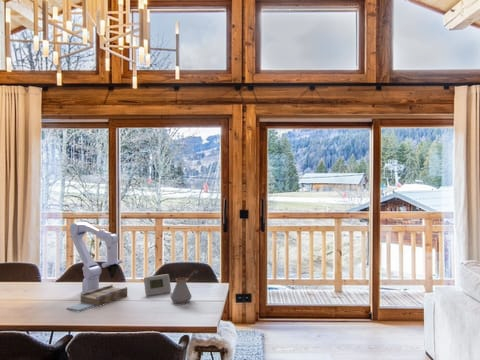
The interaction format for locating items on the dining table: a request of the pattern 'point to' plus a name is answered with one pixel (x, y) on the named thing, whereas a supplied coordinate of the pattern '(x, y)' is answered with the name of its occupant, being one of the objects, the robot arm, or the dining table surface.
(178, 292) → the coffee pot
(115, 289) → the slide box
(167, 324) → the dining table surface
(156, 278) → the digital clock
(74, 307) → the lid plate
